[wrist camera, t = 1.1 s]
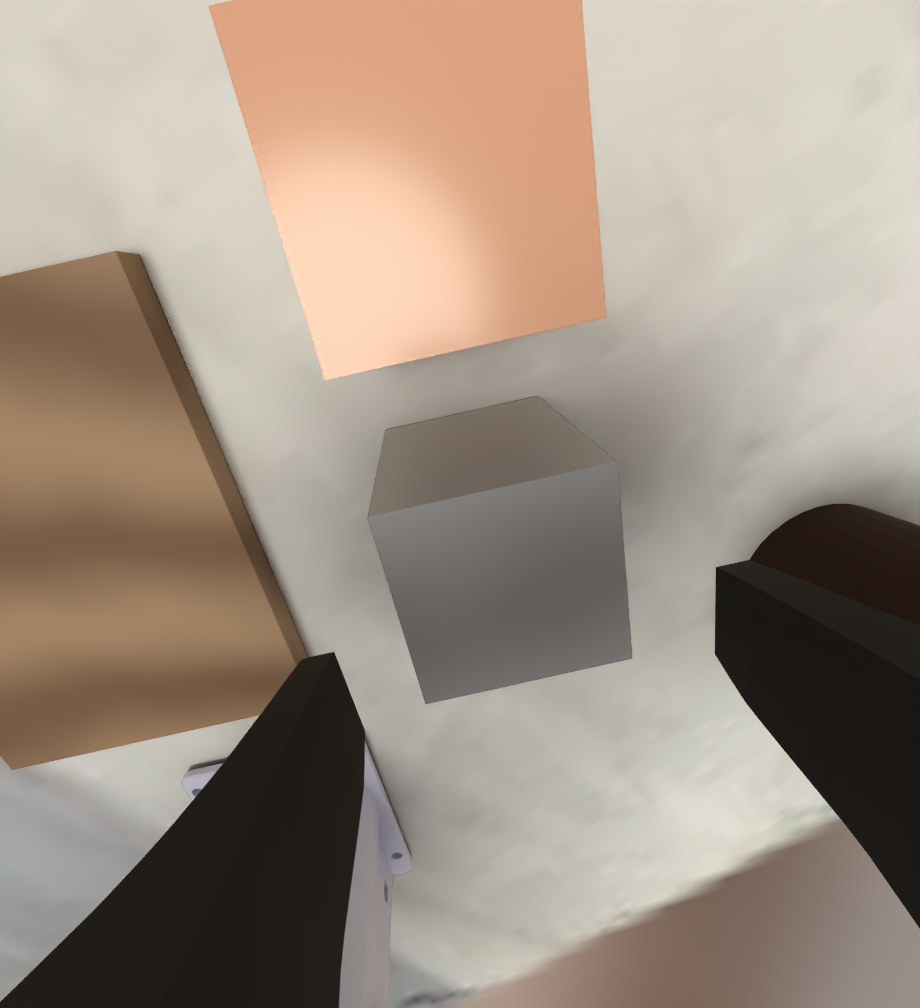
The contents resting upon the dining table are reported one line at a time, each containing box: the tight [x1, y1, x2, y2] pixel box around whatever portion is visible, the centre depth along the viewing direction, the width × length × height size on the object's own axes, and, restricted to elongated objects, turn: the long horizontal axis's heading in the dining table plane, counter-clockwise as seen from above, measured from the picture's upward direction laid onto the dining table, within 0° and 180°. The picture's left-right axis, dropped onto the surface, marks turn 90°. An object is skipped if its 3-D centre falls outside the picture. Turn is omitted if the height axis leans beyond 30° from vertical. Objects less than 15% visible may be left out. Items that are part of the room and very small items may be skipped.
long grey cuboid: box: [368, 396, 632, 704], centre depth 14 cm, size 5×5×7 cm
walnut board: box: [0, 251, 308, 770], centre depth 17 cm, size 16×12×1 cm
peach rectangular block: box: [209, 0, 606, 380], centre depth 11 cm, size 5×5×7 cm
